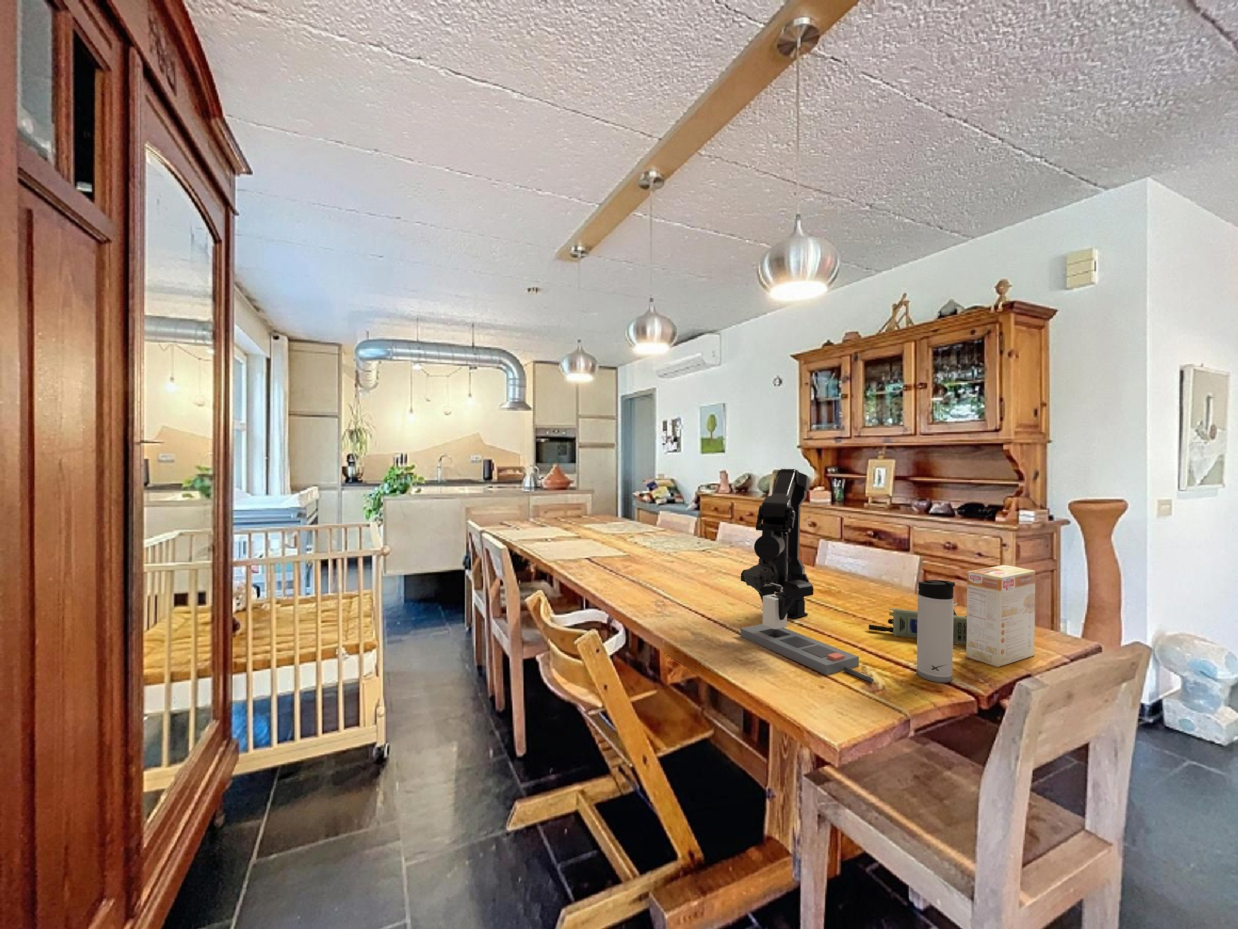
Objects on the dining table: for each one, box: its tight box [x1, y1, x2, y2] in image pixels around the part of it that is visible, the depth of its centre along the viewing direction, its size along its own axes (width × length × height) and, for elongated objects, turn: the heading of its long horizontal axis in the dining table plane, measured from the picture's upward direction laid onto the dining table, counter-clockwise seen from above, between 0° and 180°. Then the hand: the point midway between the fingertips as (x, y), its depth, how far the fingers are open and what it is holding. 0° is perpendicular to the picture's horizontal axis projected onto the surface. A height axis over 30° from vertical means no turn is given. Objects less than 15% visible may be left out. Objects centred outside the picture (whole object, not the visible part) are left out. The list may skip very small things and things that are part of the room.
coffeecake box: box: [965, 564, 1036, 668], centre depth 118 cm, size 15×7×20 cm, turn 117°
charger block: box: [762, 594, 788, 629], centre depth 127 cm, size 4×4×7 cm
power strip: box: [740, 623, 874, 683], centre depth 119 cm, size 33×10×3 cm, turn 29°
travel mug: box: [916, 579, 956, 684], centre depth 107 cm, size 6×7×20 cm
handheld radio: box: [868, 607, 967, 646], centre depth 130 cm, size 7×3×25 cm
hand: (774, 617), depth 127 cm, fingers closed on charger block, 4 cm apart
